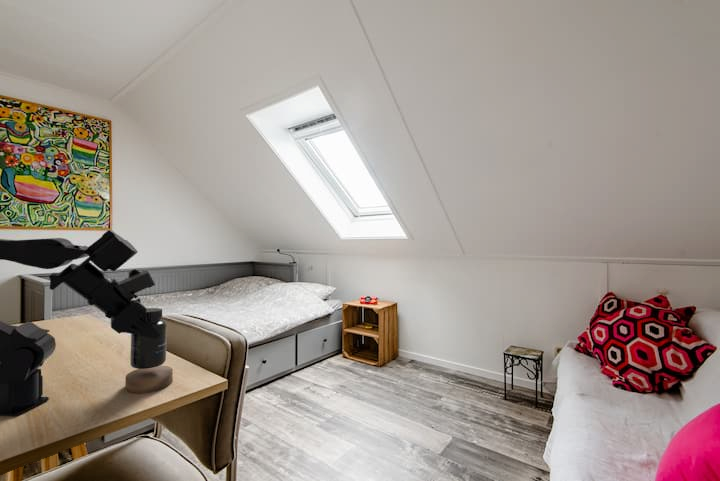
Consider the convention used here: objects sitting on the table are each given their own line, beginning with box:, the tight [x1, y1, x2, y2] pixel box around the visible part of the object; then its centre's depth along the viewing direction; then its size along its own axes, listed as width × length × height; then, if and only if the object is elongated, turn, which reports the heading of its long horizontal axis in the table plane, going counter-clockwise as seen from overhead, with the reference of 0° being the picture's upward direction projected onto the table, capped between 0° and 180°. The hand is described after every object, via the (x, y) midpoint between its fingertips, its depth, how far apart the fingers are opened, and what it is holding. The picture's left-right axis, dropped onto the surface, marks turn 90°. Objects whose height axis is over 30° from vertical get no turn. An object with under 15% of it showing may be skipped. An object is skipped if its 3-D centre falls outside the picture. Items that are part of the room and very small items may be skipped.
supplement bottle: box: [129, 307, 168, 370], centre depth 79 cm, size 7×7×12 cm
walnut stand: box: [124, 365, 174, 394], centre depth 80 cm, size 9×9×2 cm
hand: (156, 332), depth 80 cm, fingers closed on supplement bottle, 7 cm apart
